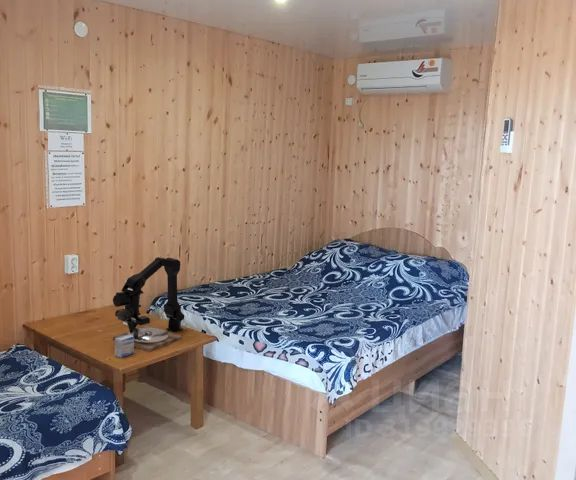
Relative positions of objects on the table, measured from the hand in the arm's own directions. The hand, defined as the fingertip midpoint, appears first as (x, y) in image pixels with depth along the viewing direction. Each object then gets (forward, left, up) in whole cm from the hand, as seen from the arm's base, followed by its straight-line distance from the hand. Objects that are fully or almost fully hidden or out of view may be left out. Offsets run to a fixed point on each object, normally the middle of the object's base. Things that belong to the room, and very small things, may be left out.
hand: (131, 333), depth 283 cm
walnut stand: (-9, +3, -5) cm, 10 cm away
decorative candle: (-21, -21, -5) cm, 30 cm away
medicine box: (+13, +9, -5) cm, 17 cm away
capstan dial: (-9, +3, -3) cm, 10 cm away
